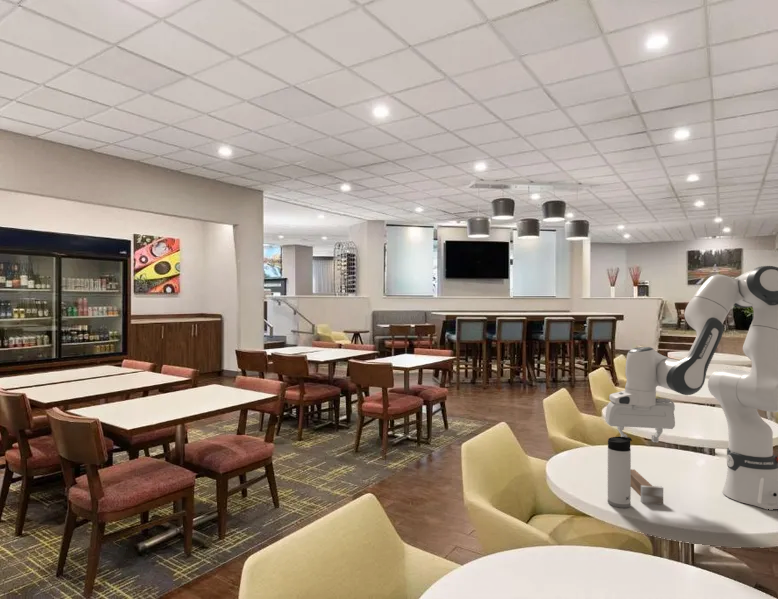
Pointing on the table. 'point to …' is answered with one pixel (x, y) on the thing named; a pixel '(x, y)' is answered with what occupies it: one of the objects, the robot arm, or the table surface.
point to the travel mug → (619, 472)
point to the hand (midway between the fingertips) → (639, 440)
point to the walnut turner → (646, 489)
